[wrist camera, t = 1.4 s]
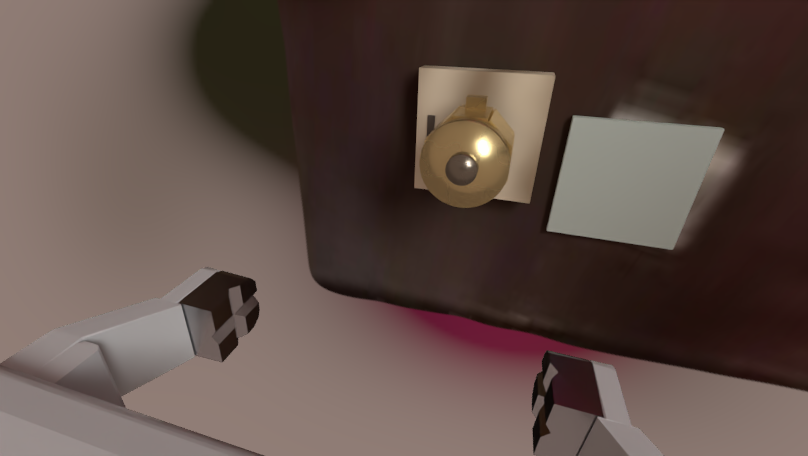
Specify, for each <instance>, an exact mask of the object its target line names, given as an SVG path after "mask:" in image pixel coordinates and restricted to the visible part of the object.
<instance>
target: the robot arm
mask: <svg viewBox="0 0 808 456" xmlns="http://www.w3.org/2000/svg"><path fill="white" fill-rule="evenodd" d="M256 291H257V288H256V283H255V281H254V280H253V279H251V278H247V277H243V276H240V275H236V274H233V273H228V272H225V271H220V270H216V269H213V268H209V267H205V268H201V269H200V270H199V271H197V272H196V273H194V274H193V275H192V276H190V277H189V278H188V279H187V280H185V281H184V282H182V283H181V284H180V285H178V286H177V287H176V288H174V289H173V290H172V291H170V292H169V293H168V294H166V295H165V296H164V297H162V298H161V299H159V298H154V299H150V300H147V301H144V302H140V303H137V304H134V305H131V306H127V307H124V308H121V309H118V310H115V311H111V312H108V313H105V314H102V315H98V316H95V317H92V318H88V319H85V320H82V321H79V322H75V323H72V324H69V325H66V326H63V327H59V328H56V329H53V330H51V331H50V332H48V333H47V334H45V335H44V336H42V337H41V338H39V339H37V340H36V341H34V342H33V343H31V344H30V345H28V346H27V347H25V348H24V349H22V350H20V351H19V352H17V353H16V354H14V355H13V356H11V357H9V358H8V359H6V360H5V361H3V362H2V363H0V456H264V455H260V454H257V453H255V452H252V451H249V450H246V449H243V448H240V447H237V446H234V445H231V444H228V443H226V442H223V441H220V440H216V439H214V438H211V437H208V436H205V435H202V434H199V433H197V432H194V431H191V430H188V429H185V428H182V427H179V426H176V425H173V424H170V423H167V422H165V421H162V420H159V419H156V418H153V417H150V416H147V415H144V414H141V413H138V412H135V411H132V410H129V409H127V408H126V407H125V405H124V403H123V400H122V398H121V396H123V395H125V394H127V393H129V392H131V391H133V390H134V389H136V388H138V387H140V386H142V385H144V384H146V383H147V382H149V381H151V380H153V379H155V378H157V377H159V376H160V375H162V374H164V373H166V372H168V371H170V370H172V369H173V368H175V367H177V366H179V365H181V364H183V363H185V362H186V361H188V360H190V359H192V358H194V357H195V355H196V356H200V357H204V358H208V359H211V360H215V361H219V362H223V361H224V360H225V359H226V358H227V357H228V356H229V355H230V353H231V352H232V351H233V350H234V349H235V348H236V347H237V346H238V338H239V337H242V336H244V335H246V334H248V333H249V332H250V331H251V330H252V328H253V327H254V326H255V324H256V321H257V319H258V317H259V302H258V301H257V300H256V298H255V297H254V296H253V295H254V293H255V292H256ZM532 413H533V414H534V416H535V417H536V421H535V423H534V426H533V453H534V455H536V456H664V455H663V454H662V453H661V452H660V451H659V449H658V448H657V447H656V446H655V445H654V444H653V443H652V442H651V441H650V440H649V439H648V437H647V436H646V435H645V434H644V433H643V432H642V431H641V430H640V429H639V428H637V427H634V426H632V425H631V421H630V418H629V415H628V411H627V408H626V404H625V401H624V397H623V394H622V390H621V387H620V384H619V380H618V376H617V373H616V370H615V368H614V367H613V366H612V365H609V364H604V363H600V362H596V361H591V360H590V361H589V360H586V359H582V358H577V357H573V356H569V355H564V354H560V353H556V352H552V351H546V353H545V354H544V357H543V359H542V372H540V373H538V374H537V376H536V380H535V383H534V388H533V393H532Z"/></svg>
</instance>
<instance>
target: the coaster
mask: <svg viewBox="0 0 808 456" xmlns="http://www.w3.org/2000/svg"><path fill="white" fill-rule="evenodd" d="M724 130H725V129H723V128H721V127H710V126H698V125H685V124H673V123H661V122H648V121H636V120H624V119H611V118H599V117H587V116H574V115H573V117H572V121H571V125H570V129H569V134H568V138H567V142H566V147H565V151H564V155H563V159H562V164H561V168H560V172H559V177H558V181H557V185H556V189H555V194H554V198H553V202H552V207H551V211H550V215H549V219H548V224H547V231H551V232H557V233H564V234H571V235H577V236H584V237H591V238H597V239H604V240H610V241H617V242H624V243H630V244H637V245H644V246H650V247H657V248H663V249H670V250H673V249H674V246H675V244H676V242H677V239H678V237H679V235H680V232H681V230H682V228H683V225H684V223H685V221H686V218H687V216H688V214H689V211H690V209H691V207H692V204H693V202H694V200H695V197H696V195H697V193H698V190H699V188H700V186H701V183H702V181H703V179H704V176H705V174H706V172H707V169H708V167H709V165H710V162H711V160H712V158H713V155H714V153H715V151H716V148H717V146H718V144H719V141H720V139H721V137H722V134H723V132H724Z"/></svg>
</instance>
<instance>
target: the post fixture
mask: <svg viewBox="0 0 808 456" xmlns="http://www.w3.org/2000/svg"><path fill="white" fill-rule="evenodd" d="M554 80H555V74H554V73H553V72H535V71H517V70H499V69H482V68H464V67H446V66H428V65H425V66H422V67H420V68H419V83H418V108H417V133H416V158H415V182H414V188H420V189H427V190H428V188H427V187H426V185H425V184H424V182H423V179H422V177H421V173H420V167H419V161H420V154H421V150H422V148H423V145H424V141H425V139H426V137H427V136H428V135H429V134H430V133H431V132H432V131H433V130H434V129H435V127H436V126H437V125H438V124H439V123H441V122H442V121H443V120H444V119H445V118H446V117H447V116H449V115H450V114H451V113H452V112H453V111H454V110H455V109H457V108H458V107H459V106H462V105H463V104H464V105H466V97H467V95H468V94H469V95H483V96H488V103H487V106H489V107H493V110H494V109H495V108H496V109H497V111H498V112H499V113H500V114H501V116H502V117H503V118H504V119H505V121H506V122H507V123H508V124H509V126H510V127H511V128H512V130H513V131H514V134H515V137H514V144H513V151H512V157H511V163H510V169H509V175H508V181H507V182H506V184H505V185H504V187H503V189H502V190H501V191H500V193H499V194H498V195H497V196H496V197H494V198H493V199H500V200H508V201H515V202H522V203H530V199H531V194H532V189H533V184H534V179H535V174H536V169H537V165H538V160H539V155H540V150H541V145H542V140H543V135H544V130H545V125H546V120H547V115H548V110H549V105H550V100H551V95H552V90H553V85H554Z"/></svg>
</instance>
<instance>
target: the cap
mask: <svg viewBox="0 0 808 456" xmlns="http://www.w3.org/2000/svg"><path fill="white" fill-rule="evenodd" d="M487 103H488V96H483V95H469V94H468V95H467V97H466V105H464V104H463V105H462V106H459V107H458V108H457V109H455V110H454V111H453V112H452V113H451V114H450V115H449V116H447V117H446V118H445V119H444V120H443V121H442V122H441V123H439V124H438V125H437V126H436V127H435V129H434V130H433V131H432V132H431V133H430V134H429V135H428V136H427V137H426V139H425V141H424V145H423V148H422V150H421V154H420V161H419V167H420V173H421V177H422V179H423V182H424V184H425V185H426V187H427V188H428V190H429V191H430V192H431V193H432V194H433V195H434V196H435V197H436V198H437V199H439V200H440V201H442V202H444V203H446V204H448V205H451V206H454V207H460V208H471V207H476V206H480V205H483V204H485V203H487V202H489V201H490V200H492V199H493V198H494V197H496V196H497V195H498V194H499V193H500V191H501V190H502V189H503V187H504V185H505V184H506V182H507V181H508V175H509V169H510V163H511V157H512V151H513V144H514V137H515V134H514V131H513V130H512V128H511V127H510V126H509V124H508V123H507V122H506V121H505V119H504V118H503V117H502V116H501V114H500V113H499V112H498V111H497V109H496V108H495V109H494V110H493V107H489V106H487Z"/></svg>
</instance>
